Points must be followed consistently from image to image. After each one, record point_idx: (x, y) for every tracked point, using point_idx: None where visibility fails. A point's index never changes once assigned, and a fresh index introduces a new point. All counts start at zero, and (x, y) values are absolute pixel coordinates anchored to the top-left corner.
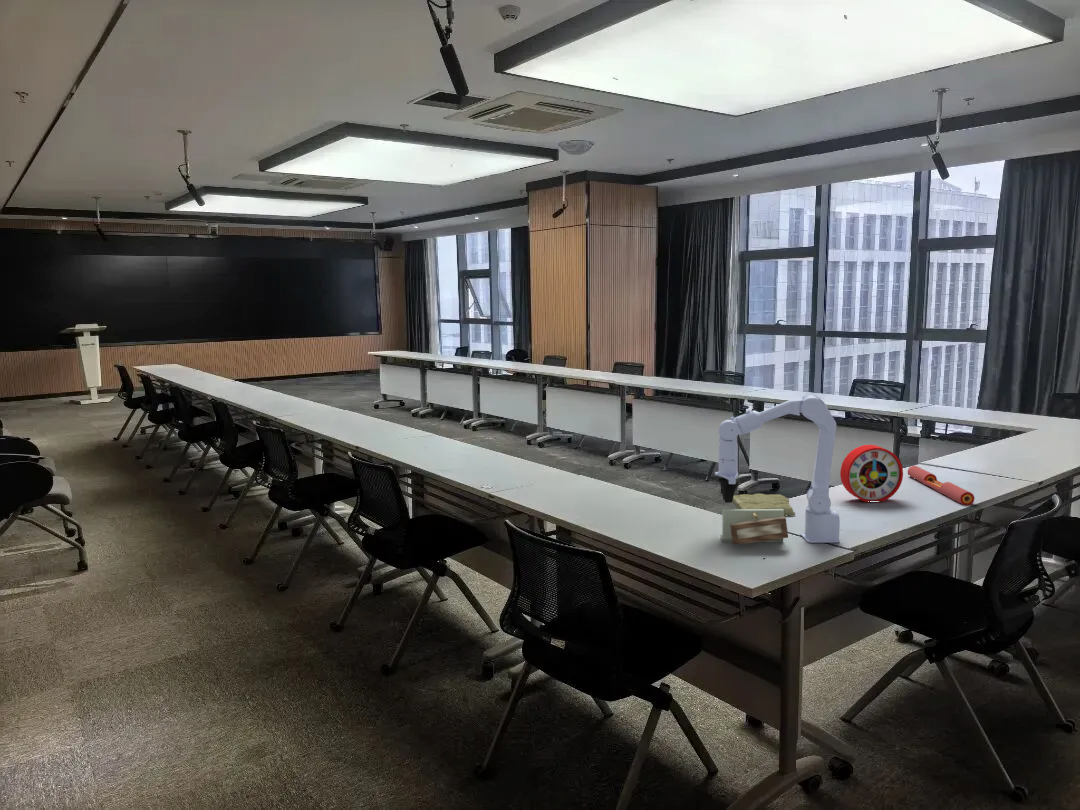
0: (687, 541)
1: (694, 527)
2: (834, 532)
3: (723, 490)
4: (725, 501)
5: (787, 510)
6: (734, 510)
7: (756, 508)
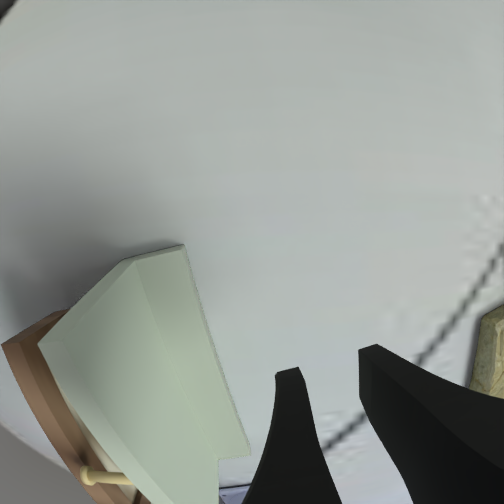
0: (103, 89)
1: (348, 102)
2: None
3: (256, 484)
4: (277, 380)
5: None
6: (81, 418)
7: (496, 363)
